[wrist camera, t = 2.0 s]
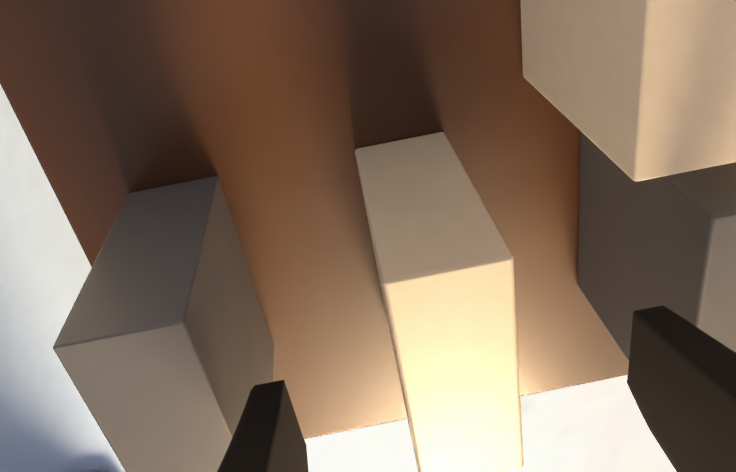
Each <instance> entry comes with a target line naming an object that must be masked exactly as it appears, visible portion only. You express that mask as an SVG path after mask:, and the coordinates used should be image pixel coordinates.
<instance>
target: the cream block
mask: <svg viewBox="0 0 736 472" xmlns="http://www.w3.org/2000/svg"><path fill="white" fill-rule="evenodd" d="M520 1H521V33H522V64H523V77H524V78H525V79H526V80H527V81H528V82H529V83H530V84H531V85H533V86H534V87H535V88H536V89H537V90H538V91H539V92H540V93H541V94H542V95H543V96H544V97H545V98H546V99H547V100H548V101H549V102H551V103H552V104H553V105H554V106H555V107H556V108H557V109H558V110H559V111H560V112H561V113H562V114H563V115H564V116H565V117H566V118H568V119H569V120H570V121H571V122H572V123H573V124H574V125H575V126H576V127H577V128H578V129H579V130H580V131H581V132H582V133H583V134H584V135H586V136H587V137H588V138H589V139H590V140H591V141H592V142H593V143H594V144H595V145H596V146H597V147H598V148H599V149H600V150H601V151H602V152H604V153H605V154H606V155H607V156H608V157H609V158H610V159H611V160H612V161H613V162H614V163H615V164H616V165H617V166H618V167H619V168H620V169H622V170H623V171H624V172H625V173H626V174H627V175H628V176H629V177H630V178H631V179H632V180H633V181H637V182H638V181H643V180H648V179H653V178H658V177H663V176H668V175H673V174H678V173H683V172H688V171H693V170H698V169H704V168H709V167H714V166H719V165H724V164H729V163H734V162H736V0H520Z"/></svg>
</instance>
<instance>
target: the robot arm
mask: <svg viewBox="0 0 736 472" xmlns="http://www.w3.org/2000/svg"><path fill="white" fill-rule="evenodd" d="M627 383H628V385H629V388H630V390H631V392H632V394H633V396H634V398H635V400H636V403H637V405H638V407H639V409H640V411H641V413H642V415H643V417H644V419H645V421H646V423H647V425H648V427H649V429H650V430H651V432H652V433H653V435H654V437H655V438H656V440H657V441H658V443H659V444H660V446H661V448H662V449H663V451H664V452H665V454H666V455H667V457H668V458H669V460H670V462H671V463H672V465H673V466H674V468H675V469H676V471H677V472H736V352H734V351H733V350H731V349H729V348H728V347H726V346H725V345H723V344H722V343H720V342H719V341H717V340H716V339H714V338H713V337H711V336H709V335H708V334H706V333H705V332H703V331H702V330H700V329H699V328H697V327H696V326H694V325H693V324H691V323H690V322H688V321H687V320H685V319H684V318H682V317H681V316H679V315H678V314H676V313H674V312H673V311H671V310H670V309H668V308H667V307H665V306H663V305H662V306H657V307H652V308H646V309H641V310H636V311H633V321H632V333H631V344H630V356H629V368H628V380H627ZM217 472H308V463H307V451H306V444H305V441H304V438H303V435H302V432H301V429H300V426H299V423H298V420H297V417H296V414H295V411H294V408H293V405H292V402H291V399H290V396H289V393H288V390H287V387H286V384H285V381H284V380H279V381H274V382H269V383H264V384H259V385H254V387H253V388H252V389H251V391H250V393H249V396H248V399H247V402H246V405H245V407H244V410H243V413H242V415H241V418H240V420H239V423H238V425H237V428H236V430H235V432H234V435H233V437H232V440H231V442H230V444H229V447H228V449H227V451H226V453H225V455H224V457H223V460H222V462H221V464H220V466H219V468H218V471H217Z"/></svg>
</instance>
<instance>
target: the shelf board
mask: <svg viewBox="0 0 736 472" xmlns="http://www.w3.org/2000/svg"><path fill="white" fill-rule="evenodd" d="M0 84H1V86H2V88H3V90H4V92H5V94H6V96H7V98H8V100H9V102H10V104H11V106H12V108H13V110H14V112H15V114H16V116H17V118H18V120H19V122H20V124H21V126H22V128H23V130H24V132H25V134H26V136H27V138H28V140H29V142H30V144H31V146H32V148H33V150H34V152H35V154H36V156H37V158H38V160H39V162H40V164H41V166H42V168H43V170H44V172H45V174H46V176H47V178H48V180H49V182H50V184H51V186H52V188H53V190H54V192H55V194H56V196H57V198H58V200H59V202H60V204H61V206H62V208H63V210H64V212H65V214H66V216H67V218H68V220H69V222H70V224H71V226H72V228H73V230H74V232H75V234H76V236H77V238H78V240H79V242H80V244H81V246H82V248H83V250H84V252H85V254H86V256H87V258H88V260H89V262H90V264H91V266H92V267H93V264H94V262H95V260H96V258H97V256H98V254H99V252H100V250H101V248H102V246H103V244H104V242H105V240H106V238H107V236H108V234H109V232H110V230H111V228H112V226H113V224H114V222H115V220H116V218H117V216H118V214H119V212H120V210H121V207H122V205H123V203H124V201H125V199H126V197H127V195H128V194H129V193H132V192H137V191H142V190H147V189H152V188H157V187H162V186H168V185H173V184H178V183H183V182H188V181H193V180H198V179H203V178H208V177H213V176H218V177H219V180H220V183H221V186H222V189H223V192H224V195H225V198H226V201H227V204H228V207H229V210H230V213H231V216H232V219H233V222H234V225H235V228H236V231H237V234H238V237H239V240H240V243H241V246H242V249H243V252H244V255H245V258H246V261H247V264H248V267H249V270H250V273H251V276H252V279H253V282H254V285H255V288H256V291H257V294H258V297H259V300H260V303H261V306H262V309H263V313H264V316H265V319H266V322H267V325H268V328H269V331H270V334H271V337H272V340H273V343H274V362H273V382H274V381H279V380H284V381H285V384H286V387H287V390H288V393H289V396H290V399H291V402H292V405H293V408H294V411H295V414H296V417H297V420H298V423H299V426H300V429H301V432H302V435H303V438H304V439H307V438H312V437H317V436H322V435H327V434H332V433H337V432H342V431H347V430H352V429H357V428H362V427H367V426H372V425H377V424H382V423H387V422H392V421H398V420H403V419H408V418H407V413H406V409H405V404H404V399H403V394H402V389H401V384H400V379H399V374H398V370H397V365H396V360H395V355H394V350H393V345H392V340H391V335H390V331H389V326H388V321H387V316H386V310H385V305H384V300H383V295H382V290H381V285H380V280H379V274H378V269H377V264H376V259H375V254H374V249H373V243H372V238H371V233H370V228H369V223H368V218H367V213H366V207H365V202H364V197H363V192H362V187H361V182H360V176H359V171H358V166H357V161H356V156H355V150H356V149H358V148H363V147H368V146H373V145H378V144H383V143H388V142H393V141H398V140H403V139H408V138H413V137H418V136H423V135H429V134H434V133H439V132H444V133H445V135H446V137H447V138H448V140H449V142H450V144H451V146H452V147H453V149H454V151H455V153H456V155H457V156H458V158H459V160H460V162H461V164H462V165H463V167H464V169H465V171H466V173H467V174H468V176H469V178H470V180H471V182H472V183H473V185H474V187H475V189H476V191H477V192H478V194H479V196H480V198H481V200H482V201H483V203H484V205H485V207H486V209H487V210H488V212H489V214H490V216H491V218H492V220H493V221H494V223H495V225H496V227H497V229H498V230H499V232H500V234H501V236H502V238H503V239H504V241H505V243H506V245H507V247H508V248H509V250H510V252H511V254H512V256H513V258H514V279H515V300H516V321H517V342H518V363H519V384H520V396H524V395H529V394H534V393H539V392H544V391H549V390H554V389H559V388H564V387H569V386H574V385H579V384H584V383H589V382H594V381H599V380H604V379H609V378H614V377H619V376H624V375H628V368H629V361H628V360H627V358H626V357H625V355H624V354H623V352H622V351H621V349H620V348H619V346H618V345H617V343H616V342H615V340H614V339H613V337H612V336H611V334H610V333H609V331H608V330H607V328H606V327H605V325H604V324H603V322H602V321H601V319H600V318H599V316H598V315H597V313H596V312H595V310H594V309H593V307H592V306H591V304H590V303H589V301H588V300H587V298H586V297H585V295H584V294H583V292H582V291H581V289H580V288H579V286H578V285H577V283H578V235H579V186H580V137H581V131H580V130H579V129H578V128H577V127H576V126H575V125H574V124H573V123H572V122H571V121H570V120H569V119H568V118H566V117H565V116H564V115H563V114H562V113H561V112H560V111H559V110H558V109H557V108H556V107H555V106H554V105H553V104H552V103H551V102H549V101H548V100H547V99H546V98H545V97H544V96H543V95H542V94H541V93H540V92H539V91H538V90H537V89H536V88H535V87H534V86H533V85H531V84H530V83H529V82H528V81H527V80H526V79H525V78H524V77H523V64H522V33H521V1H520V0H0Z"/></svg>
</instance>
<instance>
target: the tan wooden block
mask: <svg viewBox="0 0 736 472" xmlns="http://www.w3.org/2000/svg"><path fill="white" fill-rule="evenodd" d="M355 156H356V161H357V166H358V171H359V176H360V182H361V187H362V192H363V197H364V202H365V207H366V213H367V218H368V223H369V228H370V233H371V238H372V243H373V249H374V254H375V259H376V264H377V269H378V274H379V280H380V285H381V290H382V295H383V300H384V305H385V310H386V316H387V321H388V326H389V331H390V335H391V340H392V345H393V350H394V355H395V360H396V365H397V370H398V374H399V379H400V384H401V389H402V394H403V399H404V404H405V409H406V413H407V418H408V423H409V428H410V433H411V438H412V443H413V447H414V452H415V457H416V462H417V467H418V472H503V471H508V470H513V469H518V468H521V467H523V447H522V426H521V405H520V384H519V363H518V342H517V321H516V300H515V279H514V258H513V256H512V254H511V252H510V250H509V248H508V247H507V245H506V243H505V241H504V239H503V238H502V236H501V234H500V232H499V230H498V229H497V227H496V225H495V223H494V221H493V220H492V218H491V216H490V214H489V212H488V210H487V209H486V207H485V205H484V203H483V201H482V200H481V198H480V196H479V194H478V192H477V191H476V189H475V187H474V185H473V183H472V182H471V180H470V178H469V176H468V174H467V173H466V171H465V169H464V167H463V165H462V164H461V162H460V160H459V158H458V156H457V155H456V153H455V151H454V149H453V147H452V146H451V144H450V142H449V140H448V138H447V137H446V135H445V133H444V132H439V133H434V134H429V135H423V136H418V137H413V138H408V139H403V140H398V141H393V142H388V143H383V144H378V145H373V146H368V147H363V148H358V149H356V150H355Z"/></svg>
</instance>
